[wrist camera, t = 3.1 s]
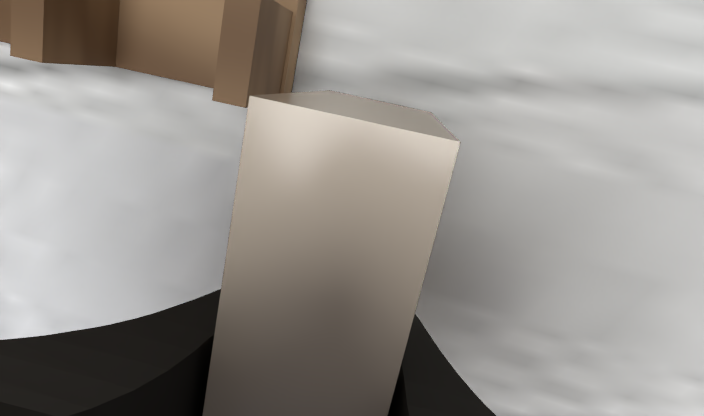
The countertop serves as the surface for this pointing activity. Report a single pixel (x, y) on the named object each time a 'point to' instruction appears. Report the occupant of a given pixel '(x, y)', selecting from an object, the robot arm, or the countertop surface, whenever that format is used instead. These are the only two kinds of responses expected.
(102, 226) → the countertop surface
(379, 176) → the clay slab
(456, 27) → the countertop surface
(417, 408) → the robot arm
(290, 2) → the pegged wooden tray
